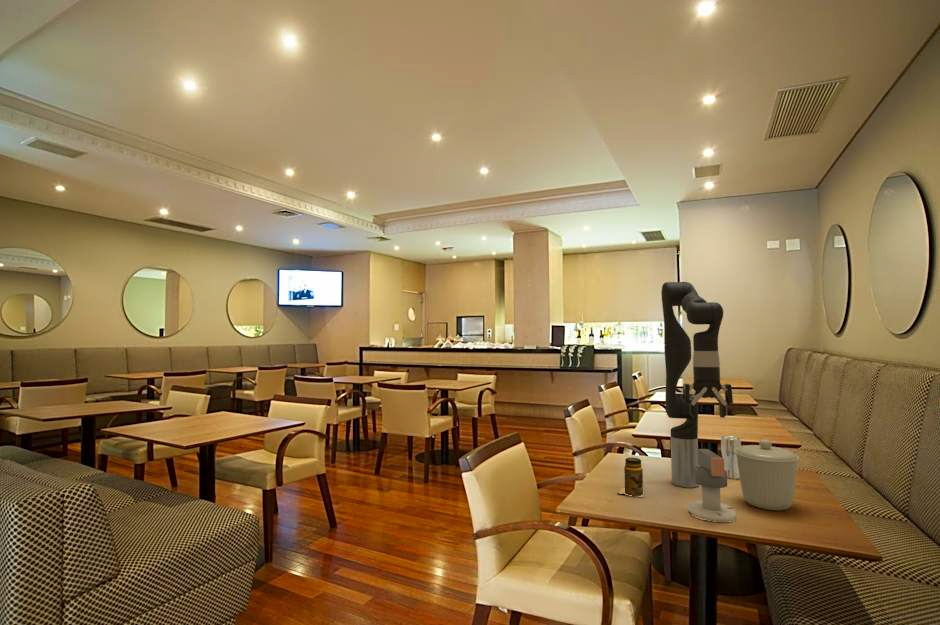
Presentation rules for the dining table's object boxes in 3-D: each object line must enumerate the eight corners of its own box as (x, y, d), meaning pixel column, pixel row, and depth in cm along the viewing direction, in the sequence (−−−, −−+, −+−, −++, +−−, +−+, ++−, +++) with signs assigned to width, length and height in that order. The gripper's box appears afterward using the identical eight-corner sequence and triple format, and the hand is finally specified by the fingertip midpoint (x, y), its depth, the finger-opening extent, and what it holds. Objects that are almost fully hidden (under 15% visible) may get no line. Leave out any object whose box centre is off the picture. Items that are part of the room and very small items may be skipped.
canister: (765, 518, 144) (763, 447, 145) (722, 497, 162) (721, 435, 163) (816, 513, 148) (813, 444, 149) (768, 494, 165) (766, 432, 166)
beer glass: (717, 475, 187) (716, 436, 188) (729, 473, 190) (728, 435, 191) (734, 480, 181) (732, 440, 181) (746, 477, 184) (745, 438, 184)
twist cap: (688, 477, 154) (688, 448, 154) (718, 477, 153) (717, 449, 153) (703, 489, 142) (702, 458, 142) (735, 490, 141) (734, 459, 141)
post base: (682, 506, 154) (681, 477, 155) (724, 507, 153) (724, 479, 153) (697, 522, 141) (696, 491, 142) (743, 523, 140) (742, 492, 140)
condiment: (642, 498, 162) (641, 462, 162) (616, 494, 166) (616, 459, 166) (645, 492, 168) (645, 457, 169) (621, 488, 172) (620, 454, 173)
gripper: (724, 364, 154) (726, 415, 153) (678, 364, 155) (680, 415, 154) (735, 366, 146) (737, 419, 145) (686, 365, 148) (688, 418, 147)
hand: (707, 417), depth 150 cm, fingers open, 8 cm apart
